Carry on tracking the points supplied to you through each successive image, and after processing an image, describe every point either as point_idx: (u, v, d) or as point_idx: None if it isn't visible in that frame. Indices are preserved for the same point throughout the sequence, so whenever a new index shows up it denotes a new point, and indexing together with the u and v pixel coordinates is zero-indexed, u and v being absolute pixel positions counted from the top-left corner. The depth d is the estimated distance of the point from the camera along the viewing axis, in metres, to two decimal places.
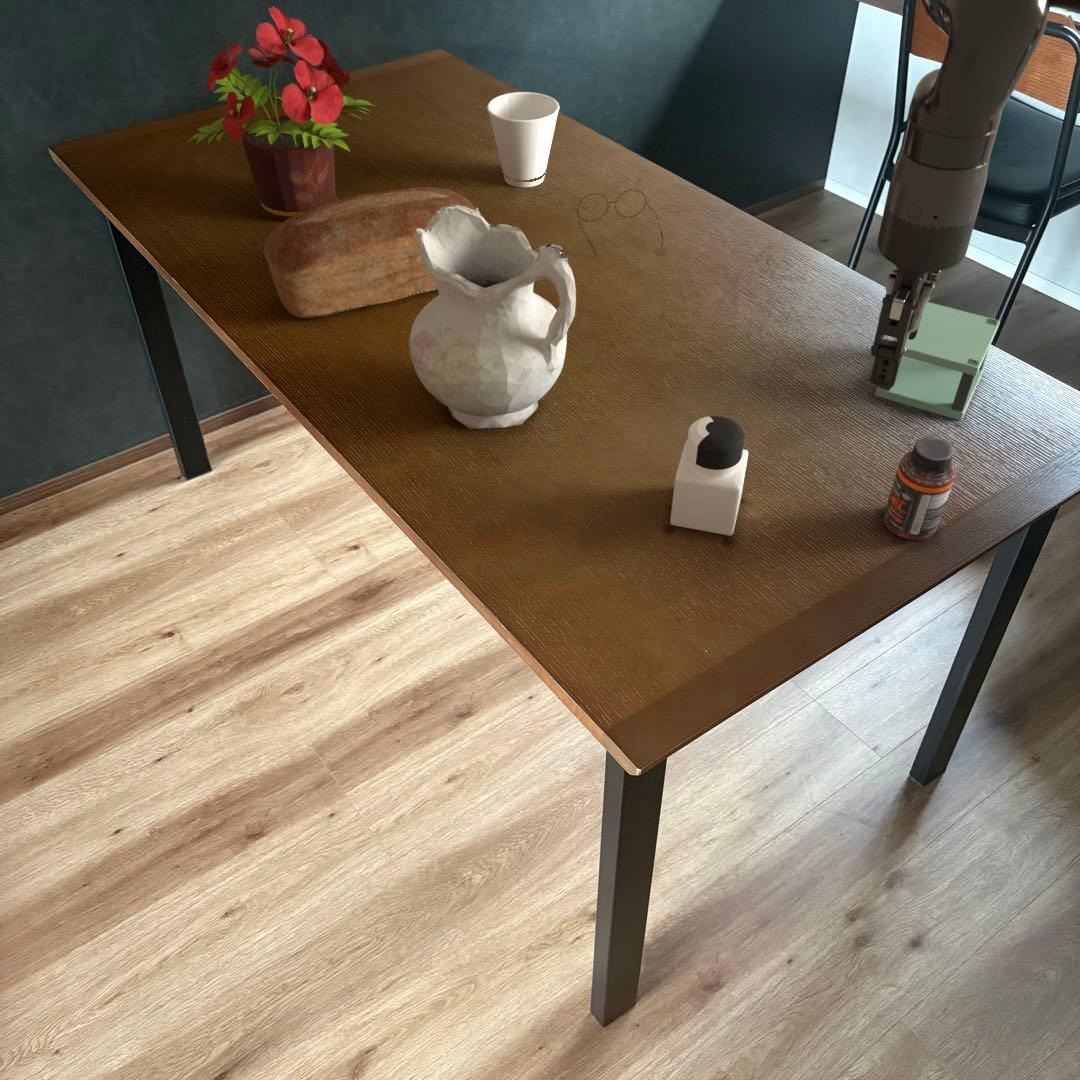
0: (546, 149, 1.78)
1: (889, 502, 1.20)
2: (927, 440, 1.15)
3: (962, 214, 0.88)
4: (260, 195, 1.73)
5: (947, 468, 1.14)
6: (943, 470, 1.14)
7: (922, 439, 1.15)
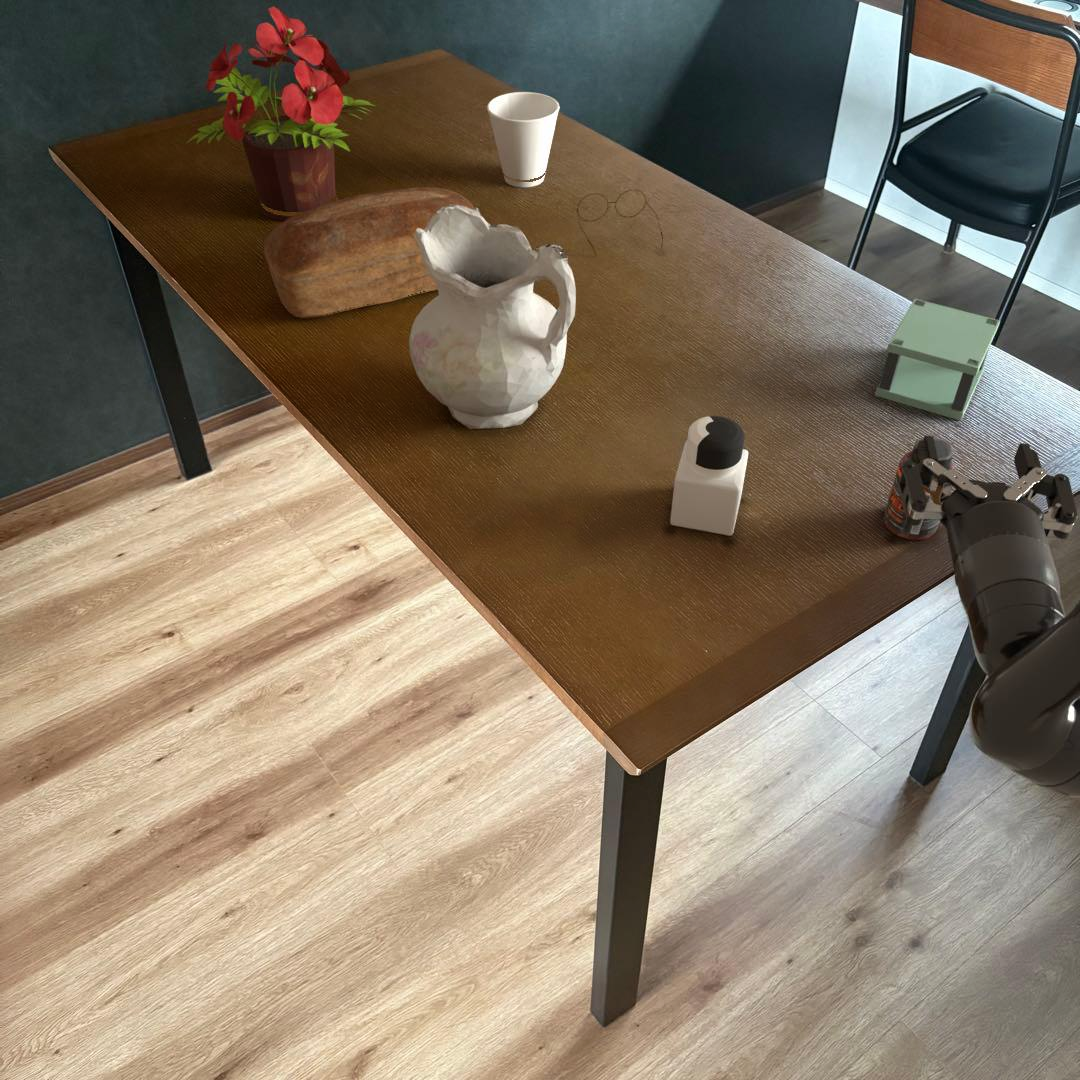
0: (546, 149, 1.78)
1: (889, 502, 1.20)
2: None
3: (1047, 553, 0.86)
4: (260, 195, 1.73)
5: (947, 468, 1.14)
6: None
7: (922, 439, 1.15)
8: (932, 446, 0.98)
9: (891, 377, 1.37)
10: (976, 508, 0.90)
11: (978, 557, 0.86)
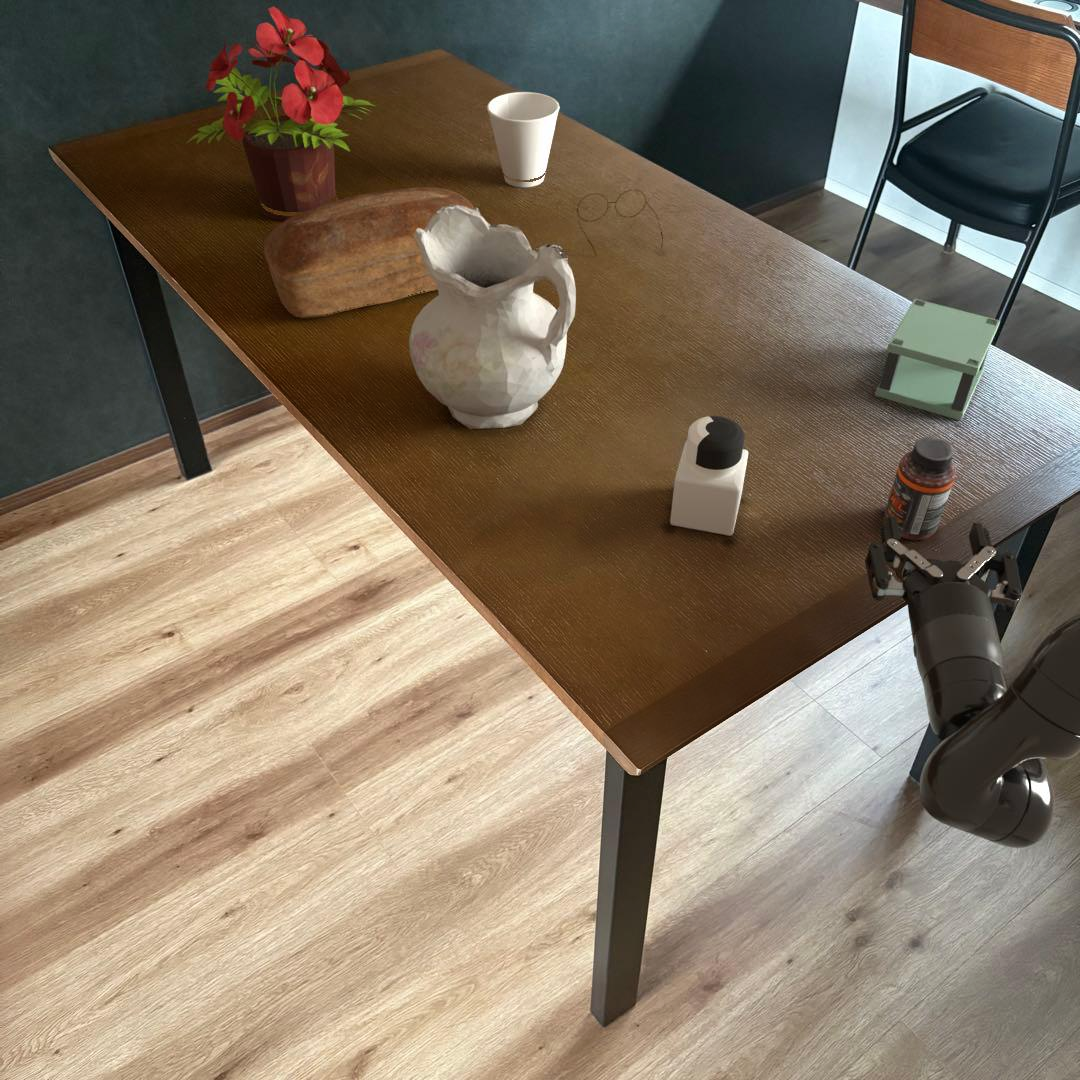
0: (546, 149, 1.78)
1: (889, 502, 1.20)
2: (927, 440, 1.15)
3: (993, 631, 0.98)
4: (260, 195, 1.73)
5: (947, 468, 1.14)
6: (943, 470, 1.14)
7: (922, 439, 1.15)
8: (895, 526, 1.11)
9: (891, 377, 1.37)
10: (932, 588, 1.02)
11: (932, 634, 0.99)
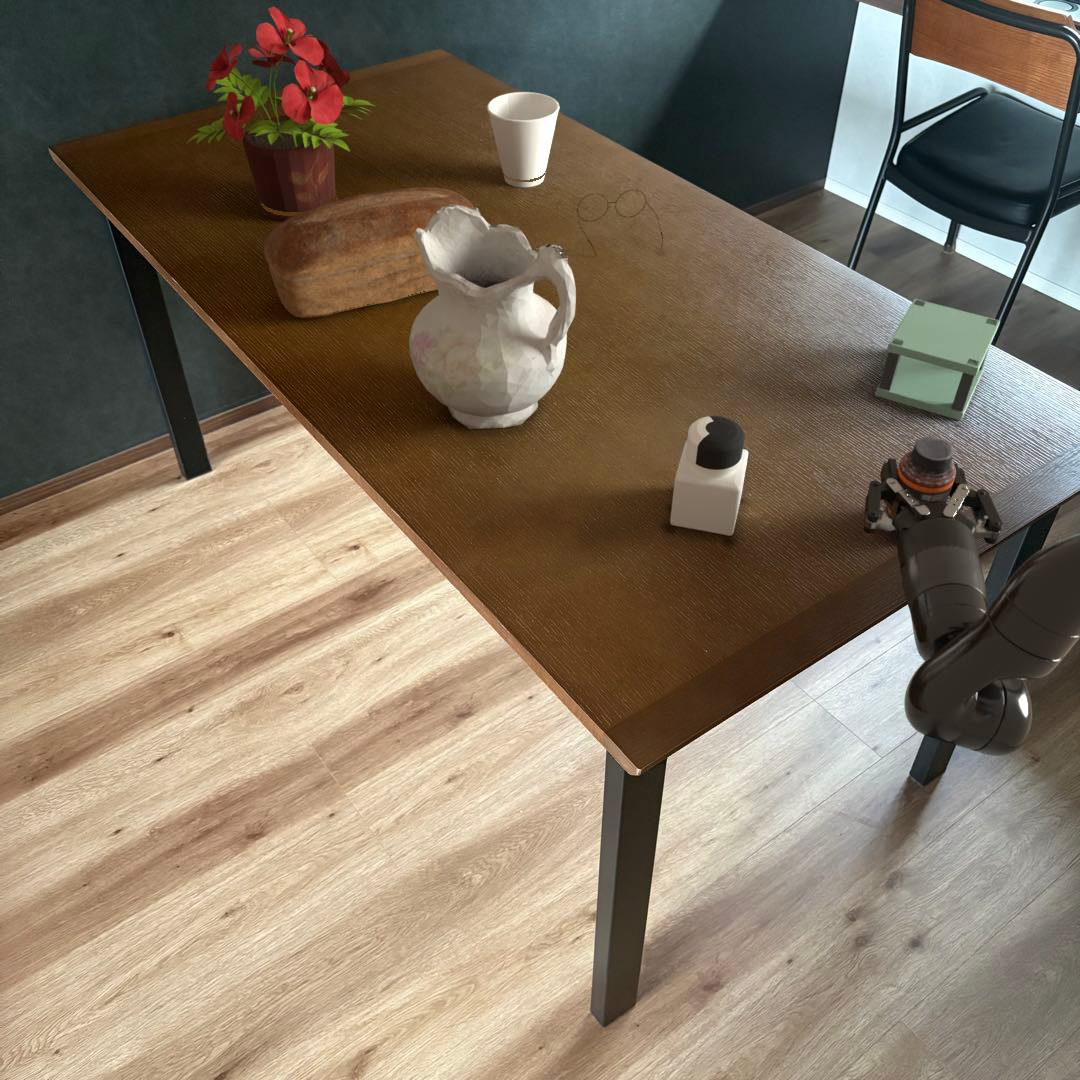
0: (546, 149, 1.78)
1: None
2: (927, 440, 1.15)
3: (976, 561, 1.05)
4: (260, 195, 1.73)
5: (947, 468, 1.14)
6: (943, 470, 1.14)
7: (922, 439, 1.15)
8: (894, 467, 1.17)
9: (891, 377, 1.37)
10: (919, 524, 1.08)
11: (919, 565, 1.05)
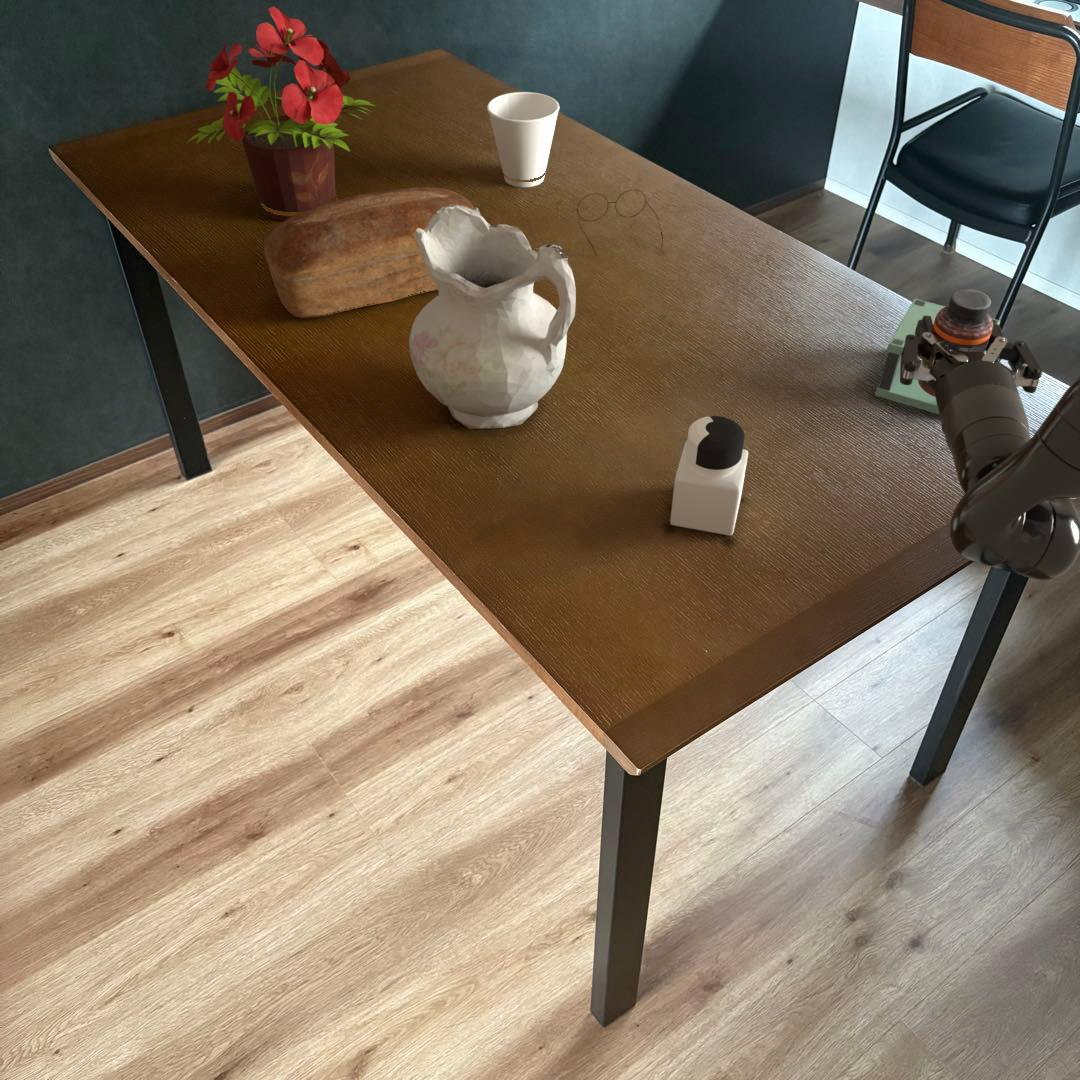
0: (546, 149, 1.78)
1: (924, 361, 1.18)
2: (964, 292, 1.13)
3: (1018, 399, 1.03)
4: (260, 195, 1.73)
5: (984, 319, 1.13)
6: (981, 321, 1.12)
7: (958, 291, 1.13)
8: (930, 323, 1.16)
9: (891, 377, 1.37)
10: (958, 367, 1.07)
11: (960, 404, 1.03)
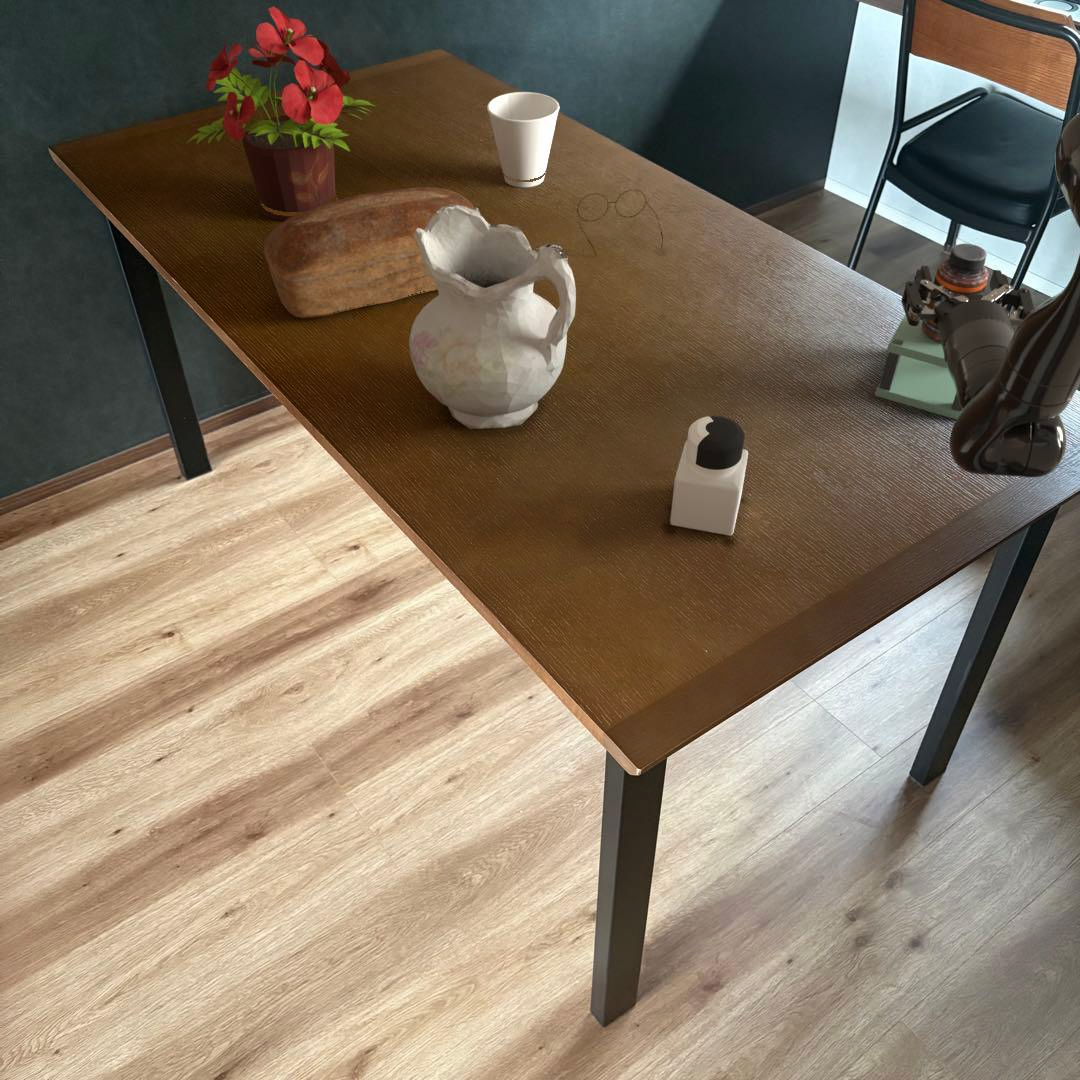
0: (546, 149, 1.78)
1: None
2: (963, 246, 1.29)
3: (1011, 332, 1.18)
4: (260, 195, 1.73)
5: (981, 270, 1.28)
6: (977, 271, 1.28)
7: (958, 245, 1.29)
8: (927, 272, 1.30)
9: (891, 377, 1.37)
10: (960, 305, 1.22)
11: (961, 336, 1.18)
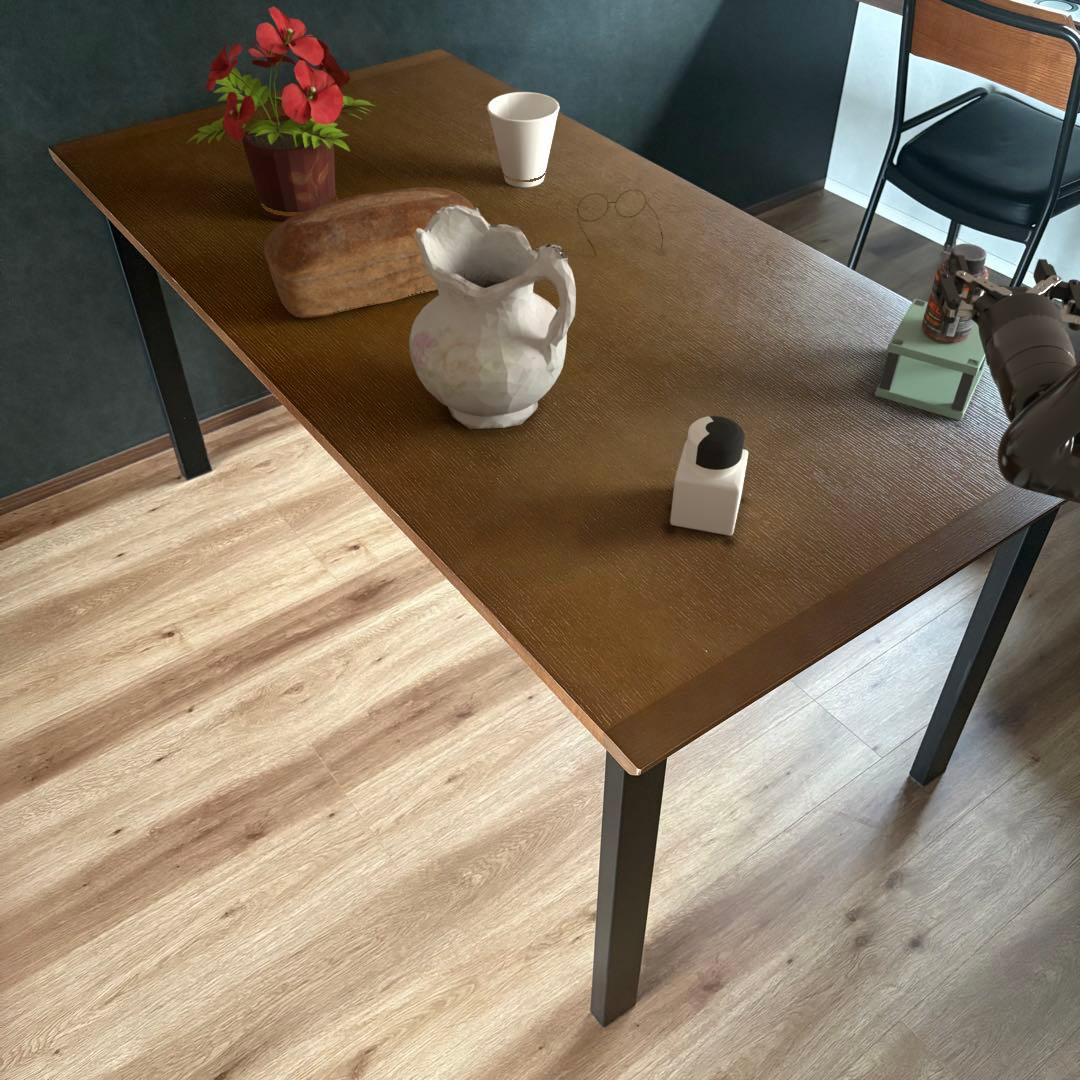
0: (546, 149, 1.78)
1: (927, 309, 1.33)
2: (963, 246, 1.28)
3: (1064, 330, 1.03)
4: (260, 195, 1.73)
5: (981, 270, 1.28)
6: (977, 271, 1.28)
7: (958, 245, 1.29)
8: (963, 262, 1.15)
9: (891, 377, 1.37)
10: (1003, 300, 1.06)
11: (1006, 335, 1.03)
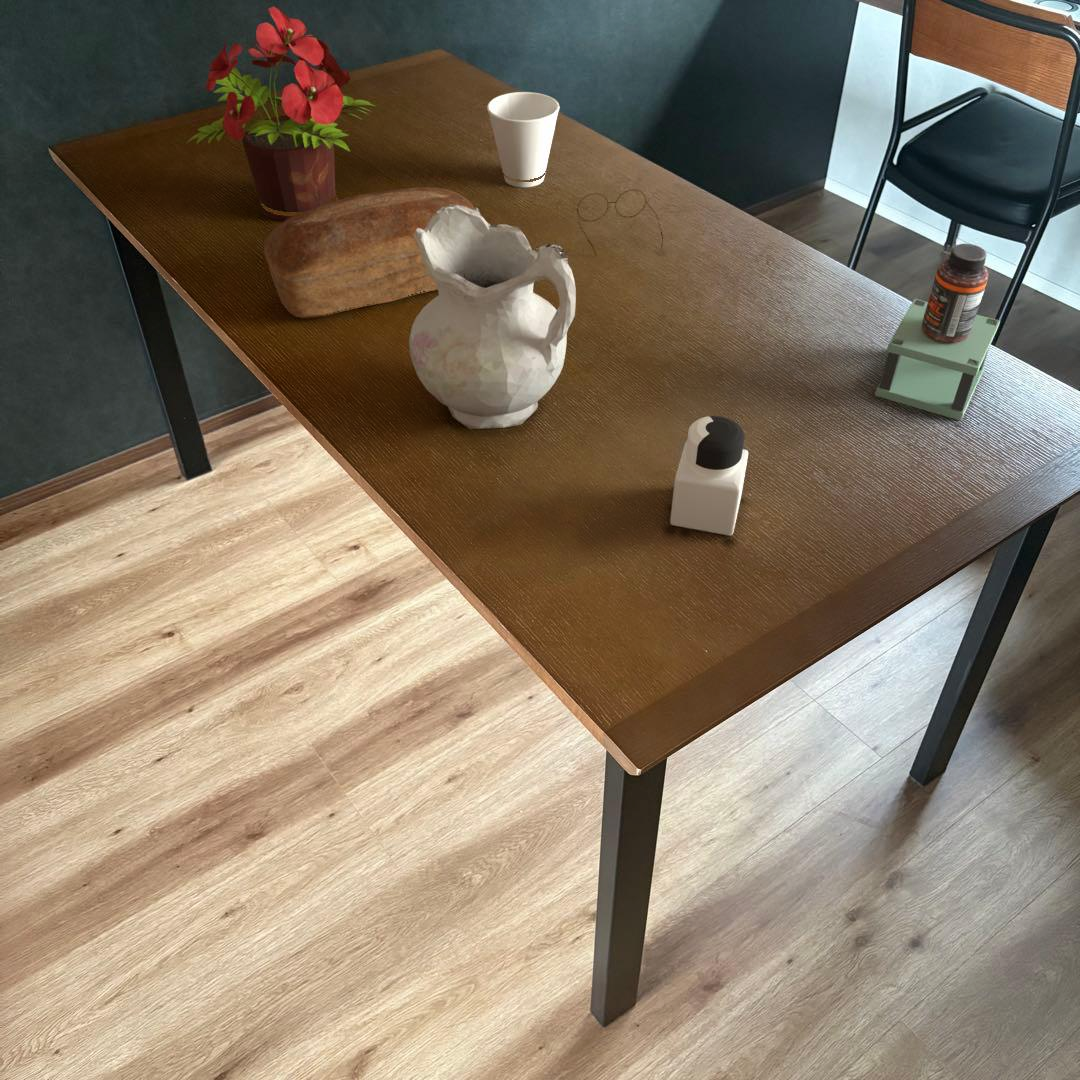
0: (546, 149, 1.78)
1: (927, 309, 1.33)
2: (963, 246, 1.28)
3: None
4: (260, 195, 1.73)
5: (981, 270, 1.28)
6: (977, 271, 1.28)
7: (958, 245, 1.29)
8: None
9: (891, 377, 1.37)
10: None
11: None
